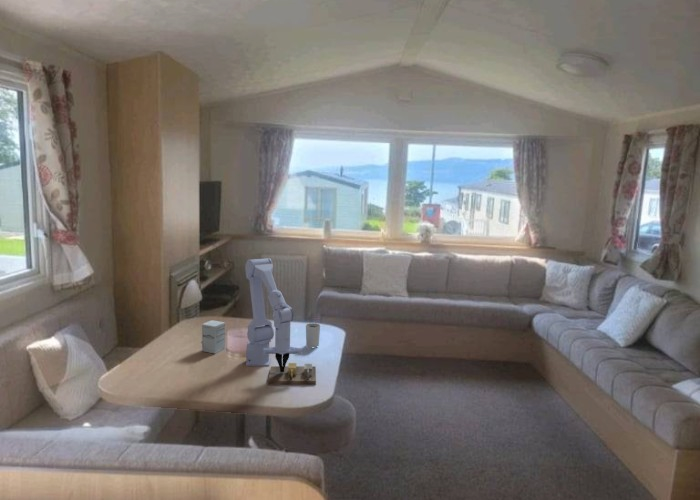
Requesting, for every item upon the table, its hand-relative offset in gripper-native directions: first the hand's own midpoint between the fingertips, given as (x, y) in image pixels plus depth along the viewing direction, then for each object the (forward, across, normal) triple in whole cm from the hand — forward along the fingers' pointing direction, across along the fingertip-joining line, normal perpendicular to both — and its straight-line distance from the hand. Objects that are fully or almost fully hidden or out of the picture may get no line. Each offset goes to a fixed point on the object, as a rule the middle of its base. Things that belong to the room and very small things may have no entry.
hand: (282, 371), depth 189 cm
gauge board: (+2, +4, 0) cm, 5 cm away
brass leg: (+1, +4, -2) cm, 4 cm away
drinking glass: (+3, +12, +35) cm, 37 cm away
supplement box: (+3, -32, +29) cm, 43 cm away
